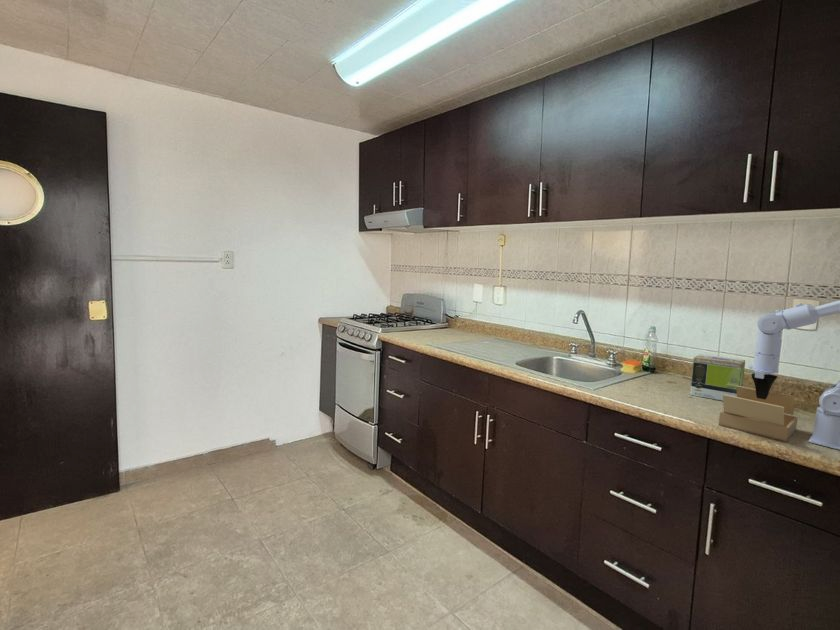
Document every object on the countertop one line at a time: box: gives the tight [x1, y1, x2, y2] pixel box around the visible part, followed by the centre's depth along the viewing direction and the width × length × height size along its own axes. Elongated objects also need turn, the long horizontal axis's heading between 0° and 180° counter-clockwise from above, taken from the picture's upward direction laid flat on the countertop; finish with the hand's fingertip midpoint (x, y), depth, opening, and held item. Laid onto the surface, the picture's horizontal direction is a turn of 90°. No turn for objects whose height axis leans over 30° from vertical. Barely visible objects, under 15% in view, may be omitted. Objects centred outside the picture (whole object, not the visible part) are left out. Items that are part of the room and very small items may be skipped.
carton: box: [718, 409, 799, 443], centre depth 132 cm, size 16×15×4 cm
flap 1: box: [722, 394, 785, 426], centre depth 125 cm, size 14×7×1 cm
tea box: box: [690, 354, 746, 402], centre depth 163 cm, size 15×10×15 cm, turn 48°
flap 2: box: [737, 386, 795, 416], centre depth 135 cm, size 14×7×1 cm
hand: (761, 398), depth 132 cm, fingers closed
